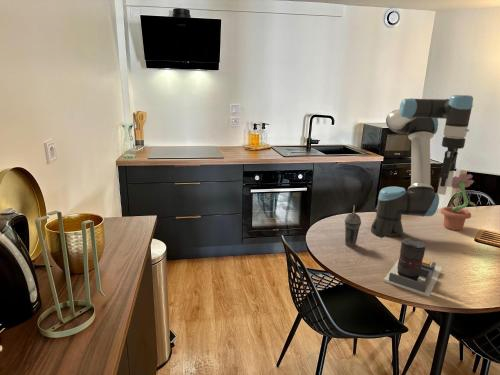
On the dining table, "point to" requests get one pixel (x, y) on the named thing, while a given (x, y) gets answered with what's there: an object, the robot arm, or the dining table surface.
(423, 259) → the orange rectangular brick
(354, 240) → the beverage cup
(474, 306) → the dining table surface
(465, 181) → the decorative flower
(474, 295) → the dining table surface
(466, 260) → the dining table surface
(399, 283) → the board
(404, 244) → the camera lens
